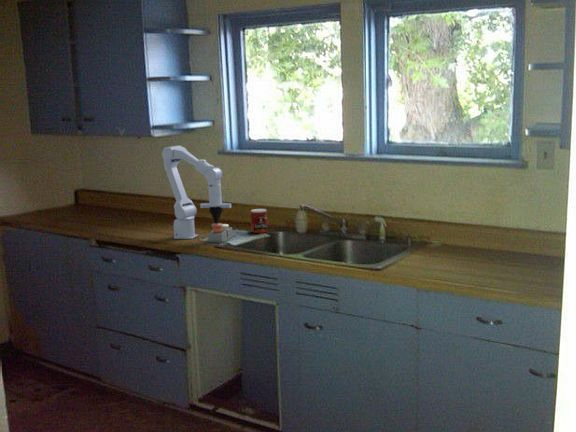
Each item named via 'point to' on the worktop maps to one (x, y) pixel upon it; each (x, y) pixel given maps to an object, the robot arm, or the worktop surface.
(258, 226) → the canned food
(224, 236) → the socket board
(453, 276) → the worktop surface
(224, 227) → the cream plug
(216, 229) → the red plug
